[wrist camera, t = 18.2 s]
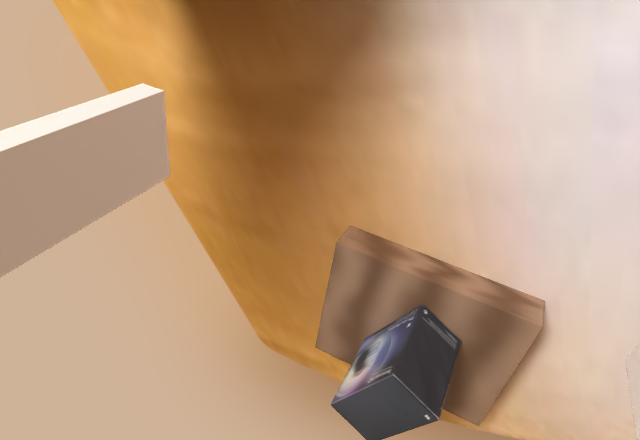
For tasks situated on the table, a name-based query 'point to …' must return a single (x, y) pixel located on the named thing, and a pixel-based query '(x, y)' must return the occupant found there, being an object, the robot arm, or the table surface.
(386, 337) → the small box
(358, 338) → the base brick
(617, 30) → the table surface
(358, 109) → the table surface
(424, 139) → the table surface
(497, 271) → the table surface
